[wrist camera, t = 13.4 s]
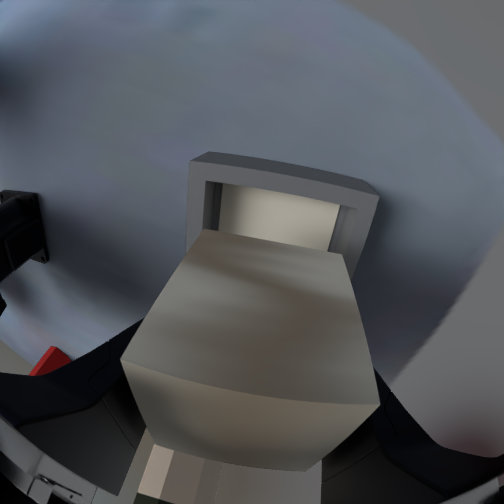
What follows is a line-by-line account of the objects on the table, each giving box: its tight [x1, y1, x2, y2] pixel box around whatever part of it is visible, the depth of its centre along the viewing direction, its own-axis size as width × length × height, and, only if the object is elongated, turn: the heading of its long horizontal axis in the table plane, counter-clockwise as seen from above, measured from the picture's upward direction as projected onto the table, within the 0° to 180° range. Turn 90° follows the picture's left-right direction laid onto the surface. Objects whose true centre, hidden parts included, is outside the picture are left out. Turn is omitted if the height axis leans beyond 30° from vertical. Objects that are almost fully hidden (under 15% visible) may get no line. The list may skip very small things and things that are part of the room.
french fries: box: [29, 346, 71, 376], centre depth 23 cm, size 9×4×13 cm, turn 143°
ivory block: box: [120, 229, 380, 472], centre depth 8 cm, size 5×5×6 cm
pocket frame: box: [185, 152, 380, 281], centre depth 16 cm, size 8×16×3 cm, turn 172°
